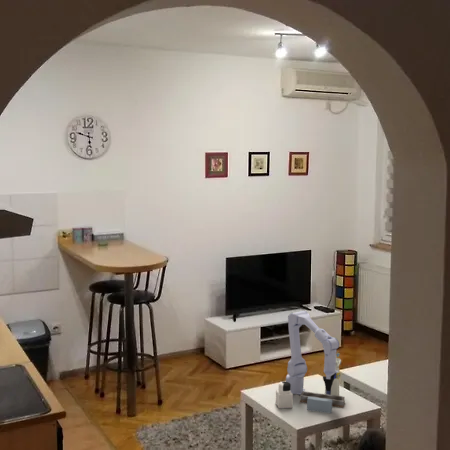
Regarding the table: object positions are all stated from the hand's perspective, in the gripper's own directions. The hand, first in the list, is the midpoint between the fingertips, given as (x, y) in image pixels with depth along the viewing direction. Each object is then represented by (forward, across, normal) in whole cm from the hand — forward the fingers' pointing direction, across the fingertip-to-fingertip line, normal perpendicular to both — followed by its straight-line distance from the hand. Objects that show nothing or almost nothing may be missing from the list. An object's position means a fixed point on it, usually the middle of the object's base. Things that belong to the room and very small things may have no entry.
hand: (329, 388), depth 308 cm
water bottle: (+10, +17, 0) cm, 20 cm away
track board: (+10, +5, +4) cm, 12 cm away
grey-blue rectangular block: (+10, -6, +4) cm, 12 cm away
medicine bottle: (+10, -5, +22) cm, 25 cm away
